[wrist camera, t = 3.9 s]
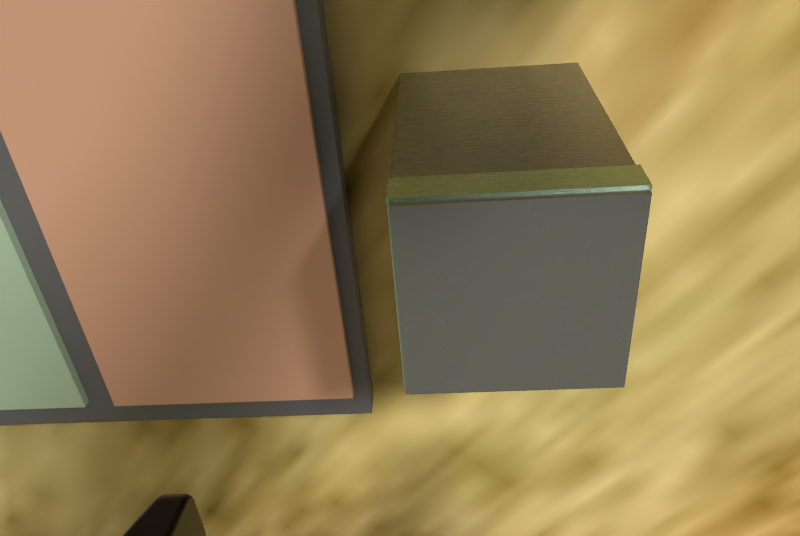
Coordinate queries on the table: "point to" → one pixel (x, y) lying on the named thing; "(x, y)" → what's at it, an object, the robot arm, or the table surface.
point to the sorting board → (173, 214)
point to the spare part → (512, 232)
